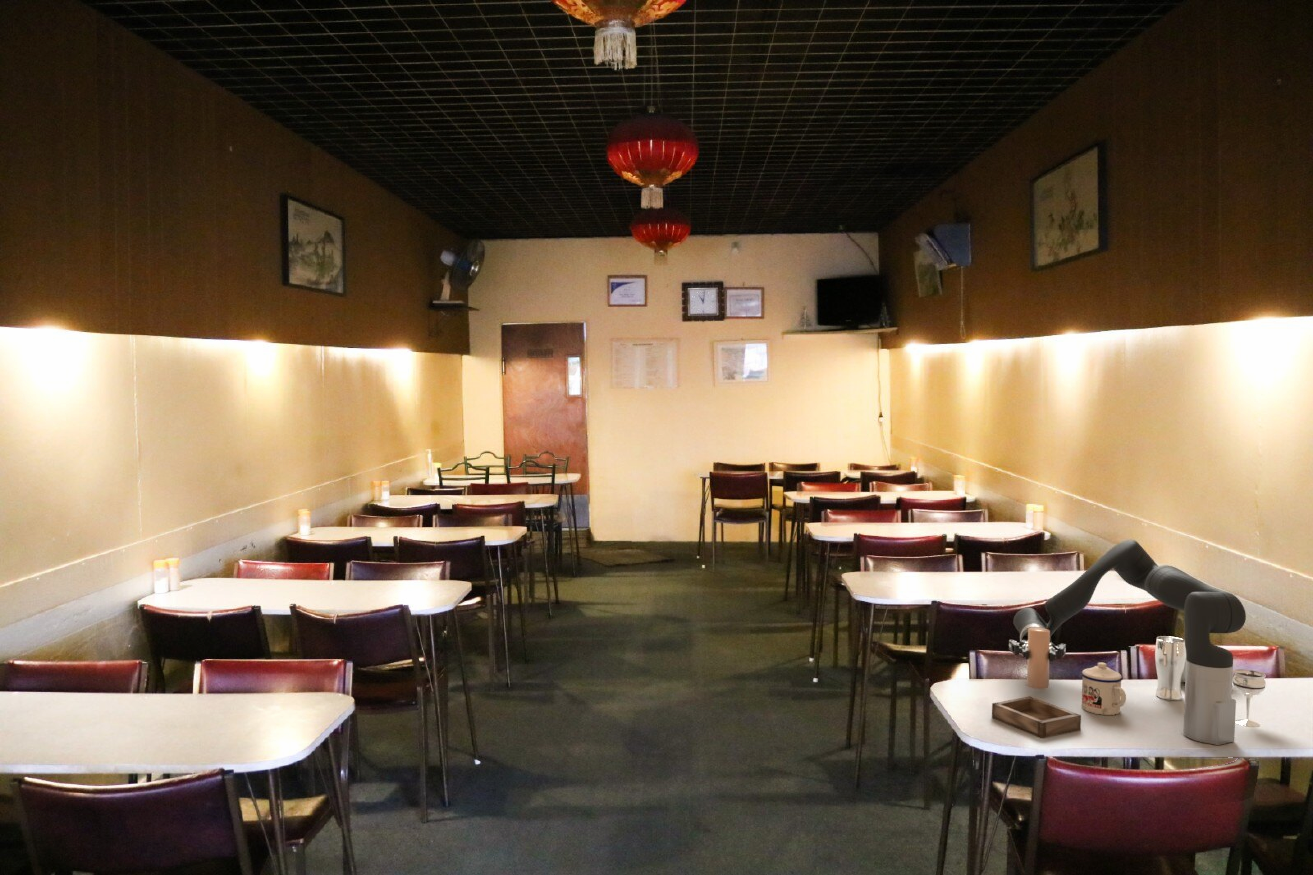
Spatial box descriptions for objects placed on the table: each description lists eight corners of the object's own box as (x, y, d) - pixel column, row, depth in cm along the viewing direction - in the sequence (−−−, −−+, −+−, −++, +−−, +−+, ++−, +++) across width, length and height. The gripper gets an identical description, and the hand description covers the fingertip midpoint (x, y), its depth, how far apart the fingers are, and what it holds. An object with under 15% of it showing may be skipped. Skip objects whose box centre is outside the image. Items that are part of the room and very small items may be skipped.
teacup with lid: (1072, 705, 240) (1073, 659, 240) (1101, 702, 243) (1103, 656, 243) (1108, 721, 229) (1110, 673, 228) (1139, 717, 232) (1140, 670, 231)
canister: (1053, 687, 239) (1054, 631, 239) (1038, 689, 237) (1039, 633, 236) (1037, 681, 244) (1038, 626, 243) (1022, 684, 241) (1023, 628, 241)
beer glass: (1177, 693, 251) (1179, 636, 250) (1189, 701, 244) (1191, 643, 243) (1149, 692, 252) (1151, 635, 251) (1160, 700, 245) (1162, 642, 244)
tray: (1080, 730, 223) (1081, 715, 223) (1042, 738, 218) (1042, 723, 217) (1029, 710, 236) (1029, 696, 236) (991, 717, 231) (992, 703, 231)
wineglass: (1270, 725, 227) (1272, 675, 227) (1254, 730, 224) (1256, 679, 224) (1240, 716, 233) (1242, 667, 233) (1224, 721, 230) (1226, 671, 229)
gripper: (1006, 624, 256) (1008, 638, 240) (1065, 628, 251) (1071, 643, 235) (1006, 652, 256) (1008, 668, 240) (1064, 656, 251) (1070, 674, 235)
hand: (1039, 656), depth 238 cm, fingers closed on canister, 5 cm apart
